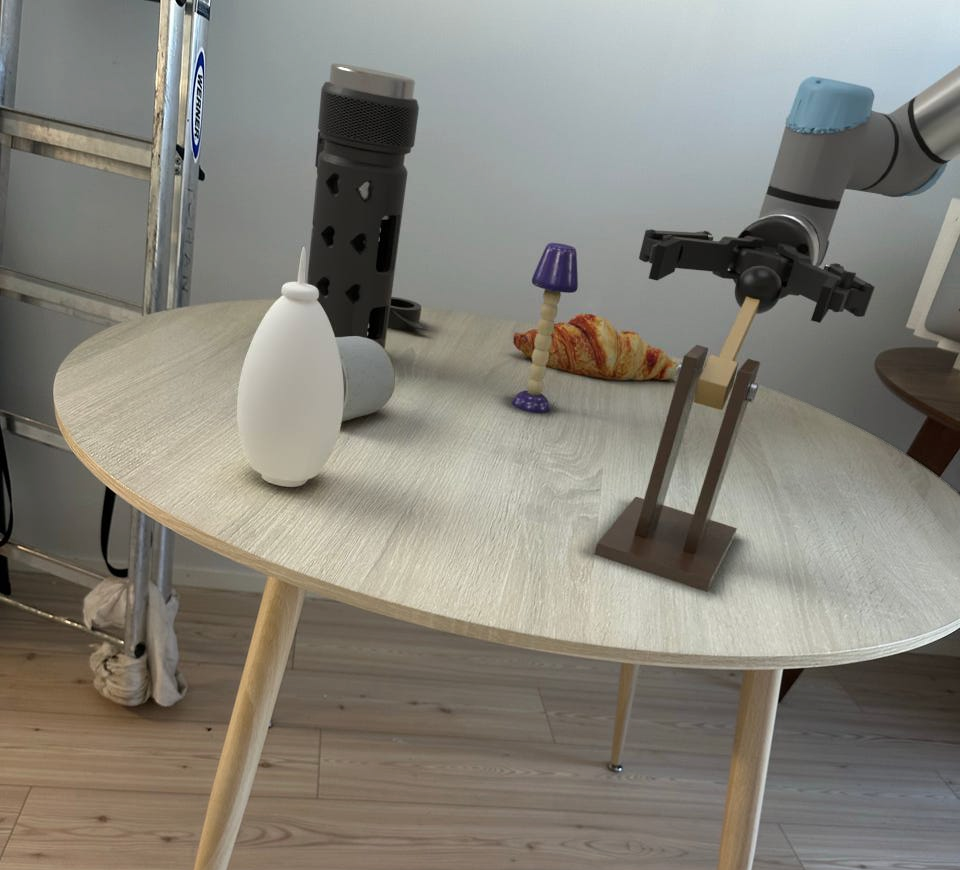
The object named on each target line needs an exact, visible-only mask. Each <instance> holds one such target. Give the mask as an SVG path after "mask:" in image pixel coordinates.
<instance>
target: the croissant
mask: <svg viewBox="0 0 960 870" xmlns="http://www.w3.org/2000/svg"><path fill="white" fill-rule="evenodd" d="M537 334H538V330H537V328H533V329H530V330H528V331H526V332H523V333H522V332H514V333H513V338H512V339H513V345H514V347H515V348H516V349H517V350H518V351H520V352H522V354H524V355H525V357H527V358H530V359H532V354H533V351H534V349H535V344H534V343H535V337H536V335H537ZM551 339H552V341H551V346H550V348H549V350H548V352H549V359H548V362H547V364H546V367H548V368H551V369H556V370H561V371H566V372H568V373H570V374H573V375H580V376H586V377H587V376H588V377H591V378H599V379H603V380H612V381H613V380H614V381H628V380H634V381H644V380H645V381H650V380H651V379H653V380H656V381H666V380H670V379H672V378H674V377H675V373H676V370H677V367H678V365H679V362H677V361H673V360H672V359H671V358H670V357H669V356H668V354H667V353H666V352H664V350H663V349H662V348H655V347H652V346H651V344H650V343H648V342H646V341H645V340H643V338H642V336H640V335H639V333H638V332H634V331H628V330H624V329H621V332H618V330H617V329H616V328H615V326H614V323H612V322H611V321H610V320H609V319H607V318H605V317H602V316H599V315H597V314H592V313H579V314H577V315H576V316H575V317H573V318H572V317H571V318H570V319H569V321H568V322H567V323H566V322H562V321H561V322H557V323H554V330H553V333H552V334H551Z"/></svg>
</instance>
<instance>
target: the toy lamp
mask: <svg viewBox="0 0 960 870" xmlns="http://www.w3.org/2000/svg"><path fill="white" fill-rule="evenodd" d="M577 253H578V252H577V249H576V247H574V246H572V245H568V244H564V243H560V242H549V243H548V244H546V246H545V248H544V250H543V252H542V255H541V256H540V259H539V260H538V263H537V265H536V268H535V271H534V273H533V275H532V278H531V284H532V285H533V286H535V287H537V288H540V289H543V290H544V291H543V296H542V299H543V300H542V301H543V303H542V304H541V306H540V312H539V313H540V314H539V315H540V318H539V320H538V323H537V326H536V327H537V328H536V329H537V330H538V334H537V335H536V337H535V343H534V344H535V349H534V351H533V354H532V358H531V361H532V363H531V365H530V367H529V378H528V381H527V384H526V390H523V391H520V392H518V393H517V394H516V395H515V396H514V397H513V398H512V400H511V405H512V406H513V407H514V408H516V409H518V410H521V411H523V412H526V413H527V412H528V413H532V414H547V413H549V412H550V411H551V405H550V402H549V399H548V398H547V397H546V396H545V395H544V394H543V393H542V392H543V389H544V379H545V377H546V374H547V366H546V364H547V362H548V359H549V352H548V350H549V348H550V346H551V341H552V339H551V334H552V333H553V330H554V324H555V319H556V317H557V315H558V304H559V303H560V300H561V295H562V293H567V294H571V293H572V294H573V293H576V292H577V291H578V287H579V280H578V275H579V274H578V273H579V272H578V254H577Z"/></svg>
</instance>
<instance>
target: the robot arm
mask: <svg viewBox="0 0 960 870" xmlns="http://www.w3.org/2000/svg"><path fill="white" fill-rule="evenodd" d="M874 100H875V93H874V91H873V89H872V88H870V87H867V86H864V85H860V84H857V83H850V82H846V81H840V80H836V79H831V78H825V77H820V76H809V77H806V78H805V79H804V80H802V81H801V83H800V84H799V86H798V89H797V91H796V95H795V97H794V100H793V103H792V105H791V109H790V112H789V114H788V116H787V117H786V119H785V124H784V125H785V126H784V131H783V133H782V136H781V140H780V144H779V148H778V151H777V155H776V159H775V162H774V166H773V169H772V173H771V176H770V179H769V182H768V186H767V189H766V193H765V195H764V198H763V202H762V206H761V207H760V208H761V209H760V212H759V214H758V215H759V216H758V219H757V220H756V221H754V222H752V223H750V224H749V225H748V226H746V227H745V228H744V229H743V230H742V231H741V232H740V233H739V234H738V236H737V237H732V236H723V237H722V238H721V239H720V240H719V241H716V240H714V235H713V234H712V233H711V232H709V231H708V230H703V231H695V232H691V231H675V230H673V231H672V230H655V229H652V228H650V229H645V231H644V235H643V239H642V244H641V247H640V251H639V255H638V260H640V261H642V262H643V263H649V264H651V267H650V271H649V275H648V279H649V280H653V281H659V280H661V279H663V278H666V277H667V276H669V275H672V274H674V273H675V271H676V269H682V270H690V271H691V270H692V271H700V272H701V271H702V272H711V273H712V274H713V275H714V276H716V277H718V278H721V279H727V280H732V281H733V282H734V284H735V285H736V283H737V280H738V279H739V277H740V276H741V275H742V273H744V272H745V271H746V270H748V269H750V268H752V267H755V266H765V267H768V268H770V269H772V270H774V271H775V272H776V273H777V275H778V276H779V278H780V281H781V285H782V291H781V295H780V298H779V300H781V299H784V298H786V297H788V296H796V297H799V296H802V297H804V298H805V299H808V300H810V301H812V302H814V303H816V304H815V306H814V310H813V312H812V316H811V319H810V321H811V322H815V323H818V324H820V323H821V322H822V321H823V319H824V318H825V316H826V315H827V313H828V312H829V310H831V311H832V312H834V313H843V312H844V310H845V311H847V312H848V313H850V314H852V315H853V316H854V317H857V318H860V317H861V318H862V317H865V316H866V313H867V310H868V308H869V305H870V302H871V300H872V297H873V294H874V292H875V288H876V286H875V285H872V283H870V282H867V281H866V280H864V279H862V278H860V277H858V276H857V272H856V271H855V272H853V271H848V270H846V269H845V267H844V266H843V265H841V263H838V262H837V263H836V262H835V263H830V264H827V263H825V264H824V266H823V268H821V267H820V266H821V265H822V264H823V262H824V260H825V257H826V255H827V252H828V249H829V247H830V246H829V245H830V240H829V239H830V238H829V237H830V235H831V232H832V228H833V226H834V223H835V220H836V217H837V214H838V210H839V209H840V205H841V202H842V199H843V196H844V193H845V190H850V191H857V192H864V193H870V194H876V195H881V196H885V197H890V198H902V197H911V196H912V197H913V196H917V195H920V194H923V193H925V192H926V191H928V190H930V189H931V188H933V186H934V185H936V184H937V182H938V181H939V180H940V178H941V177H942V175H943V173H944V172H945V171H946V168H947V166H948V163H949V162H950V161H952V160H953V159H955V158H957V157H958V156H960V64H959V65H957V66H956V67H955V68H953V69H952V70H951V71H950V72H948V73H947V74H945V75H943V76H942V77H941V78H940V79H938V80H937V81H935V82H934V83H933V84H931V85H929V86H928V87H927V88H926V89H924V90H922V91H921V92H920V93H918V94H917V95H916V96H914V97H912V98H911V99H910V100H908V101H907V102H905V103H904V104H902V105H901V106H900V107H898V108H896V109H895V110H893V111H892V112H890V113H883V112H877V111H875V110H872V109H873V105H874Z"/></svg>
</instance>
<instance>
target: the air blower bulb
mask: <svg viewBox="0 0 960 870" xmlns="http://www.w3.org/2000/svg"><path fill="white" fill-rule="evenodd" d="M300 253H301V254H300V260H299V267H298V273H297V275H298V276H297V281H288V282H285V283H284V284H283V285H282V287H281V296H280V297H279V298H278V299H277V300H275V302H274V303H273V304H272V305H271V306H270V307H269V309H268V310H267V311H266V313H265V315H264V316H263V318H262V320H261V322H260V323H259V325H258V326H257V329H256V331H255V333H254V336H253V338H252V340H251V342H250V345H249V347H248V350H247V351H246V352H247V353H246V355H245V359H244V361H243V365H242V369H241V372H240V377H239V383H238V388H237V396H236V397H237V399H236V418H237V419H236V421H237V422H236V423H237V430H238V434H239V440H240V443H241V446H242V449H243V452H244V455H245V457H246V459H247V461H248V463H249V466H250V467H251V468H252V469H253V470H254V471H255V472H256V473H259V474H261V478H262V479H263V480H264V481H265V482H267V483H269V484H271V485H275V486H279V487H285V488H296V487H301V486H303V485H305V484H306V483H307V482H308V480H311V479H313V478H315V477H316V476H317V475H319V474H320V472H321V471H322V470H323V468H324V467H325V466H326V464H327V462H328V461H329V459H330V457H331V455H332V454H333V452H334V449H335V447H336V444H337V442H338V439H339V436H340V432H341V428H342V427H341V426H342V422H341V421H342V414H343V402H344V385H343V373H342V366H341V360H340V355H339V350H338V346H337V342H336V339H335V336H334V332H333V330H332V327H331V324H330V322H329V319H328V317H327V315H326V313H325V311H324V309H323V308H322V306H321V305H320V303H319V302H318V301H317V300H316V299H318V297H319V291H318V289H317V288H316V287H315V286H312V285H310V284H307V282H306V266H307V264H306V263H307V262H306V261H307V253H306V248H305V247H304V246H303V247H302V250H301V252H300Z"/></svg>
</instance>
